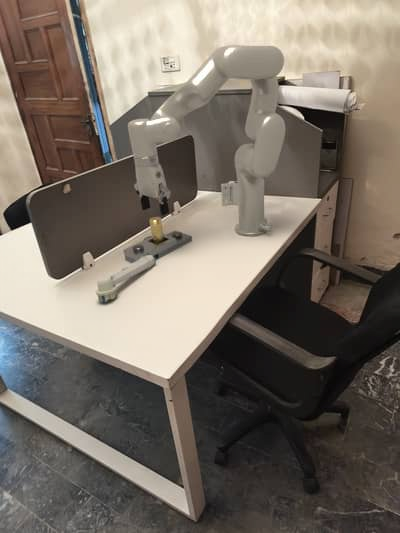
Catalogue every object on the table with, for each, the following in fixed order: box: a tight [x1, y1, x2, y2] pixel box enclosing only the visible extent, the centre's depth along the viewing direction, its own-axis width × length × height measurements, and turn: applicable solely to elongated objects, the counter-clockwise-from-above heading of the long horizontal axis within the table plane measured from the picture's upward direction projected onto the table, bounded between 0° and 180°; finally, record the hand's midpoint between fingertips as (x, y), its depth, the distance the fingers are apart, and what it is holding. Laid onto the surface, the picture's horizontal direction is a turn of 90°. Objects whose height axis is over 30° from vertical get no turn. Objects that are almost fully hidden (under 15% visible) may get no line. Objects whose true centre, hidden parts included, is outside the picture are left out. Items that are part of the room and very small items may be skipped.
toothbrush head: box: [95, 255, 157, 302], centre depth 113 cm, size 5×7×25 cm
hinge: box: [220, 180, 238, 207], centre depth 163 cm, size 14×5×10 cm, turn 77°
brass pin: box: [149, 216, 164, 245], centre depth 129 cm, size 4×4×12 cm
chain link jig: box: [123, 230, 193, 264], centre depth 130 cm, size 24×9×5 cm, turn 137°
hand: (155, 211), depth 124 cm, fingers open, 9 cm apart
